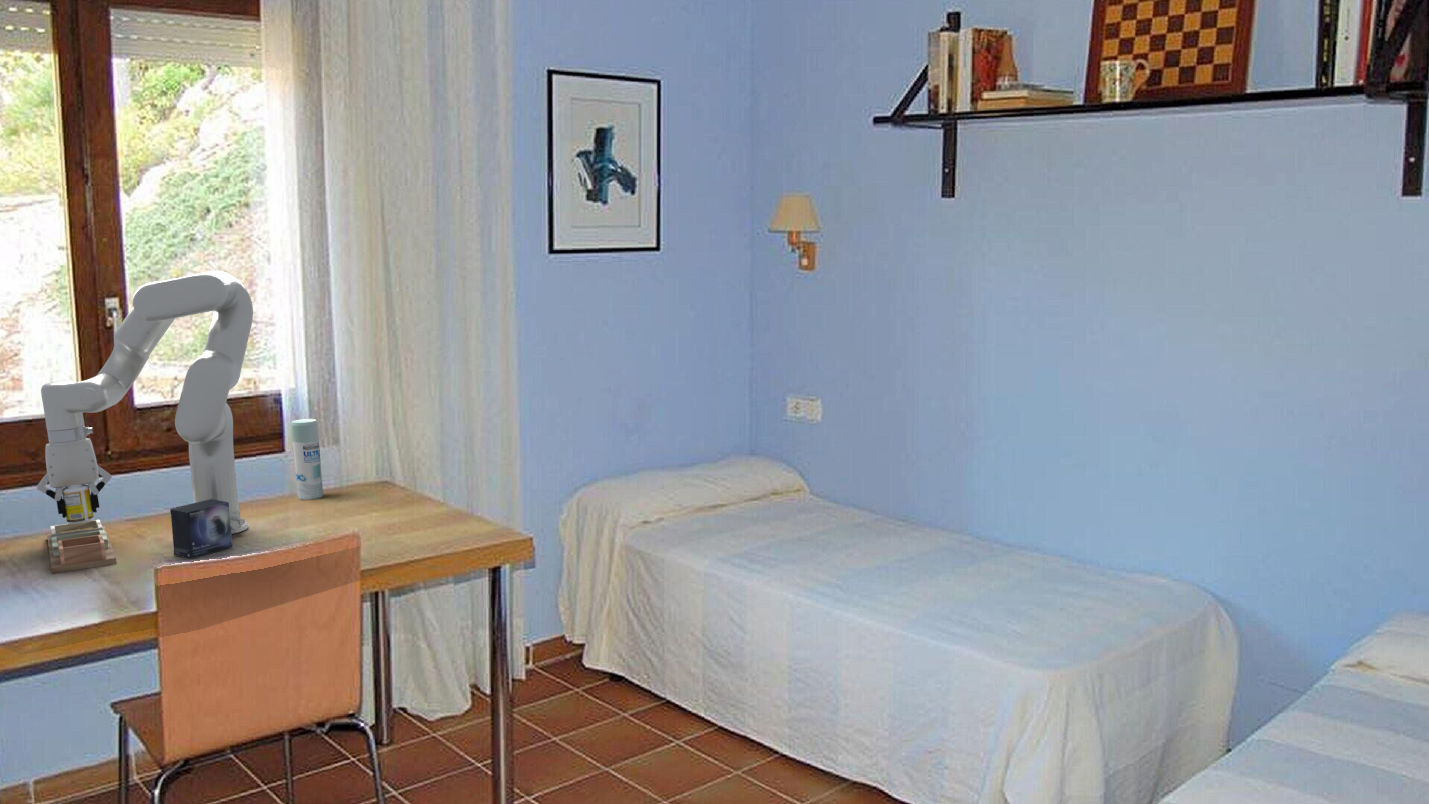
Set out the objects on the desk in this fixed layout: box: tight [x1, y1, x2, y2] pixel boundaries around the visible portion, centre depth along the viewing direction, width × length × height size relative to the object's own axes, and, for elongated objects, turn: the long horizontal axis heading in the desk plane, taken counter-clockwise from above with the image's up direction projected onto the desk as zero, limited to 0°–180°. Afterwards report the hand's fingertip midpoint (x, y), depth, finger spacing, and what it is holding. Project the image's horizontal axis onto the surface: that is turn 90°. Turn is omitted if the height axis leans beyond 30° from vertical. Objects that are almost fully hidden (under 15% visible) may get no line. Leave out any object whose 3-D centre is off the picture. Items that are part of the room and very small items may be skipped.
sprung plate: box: [60, 527, 93, 533], centre depth 277 cm, size 7×7×1 cm
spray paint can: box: [290, 418, 324, 501], centre depth 313 cm, size 6×6×20 cm
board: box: [46, 519, 117, 574], centre depth 268 cm, size 34×12×5 cm, turn 30°
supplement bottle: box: [61, 484, 95, 525], centre depth 276 cm, size 6×6×10 cm
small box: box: [169, 499, 233, 559], centre depth 263 cm, size 11×6×10 cm, turn 148°
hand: (79, 513), depth 276 cm, fingers closed on supplement bottle, 5 cm apart
